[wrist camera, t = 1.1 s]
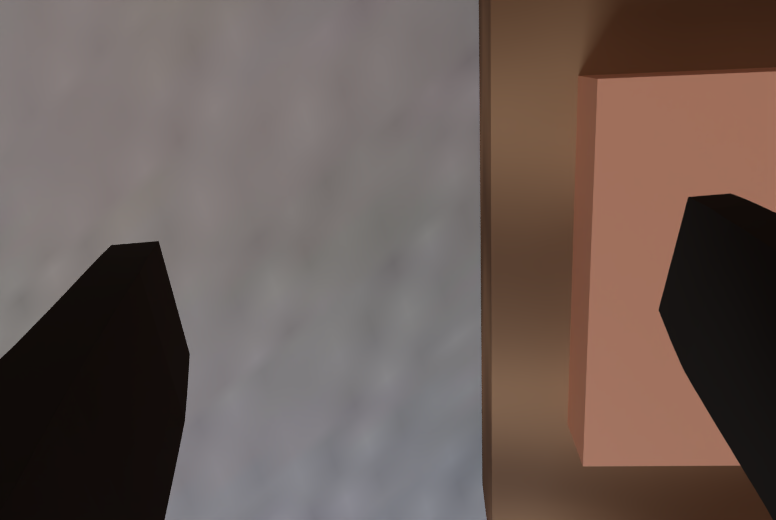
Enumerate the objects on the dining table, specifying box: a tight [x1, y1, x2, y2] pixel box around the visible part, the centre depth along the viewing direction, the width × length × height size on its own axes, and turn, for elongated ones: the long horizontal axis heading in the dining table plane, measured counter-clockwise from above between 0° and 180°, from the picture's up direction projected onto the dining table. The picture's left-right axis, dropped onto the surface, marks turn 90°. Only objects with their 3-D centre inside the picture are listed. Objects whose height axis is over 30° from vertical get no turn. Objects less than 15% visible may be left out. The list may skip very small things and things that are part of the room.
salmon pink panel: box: [567, 67, 776, 466], centre depth 16 cm, size 9×6×2 cm, turn 3°
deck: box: [479, 0, 776, 520], centre depth 19 cm, size 18×12×4 cm, turn 2°
